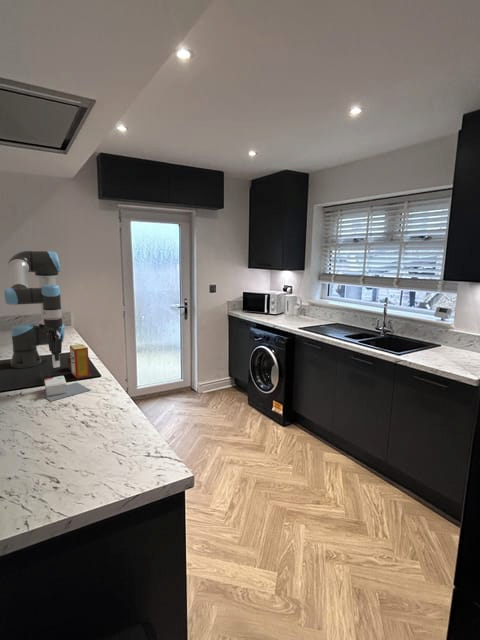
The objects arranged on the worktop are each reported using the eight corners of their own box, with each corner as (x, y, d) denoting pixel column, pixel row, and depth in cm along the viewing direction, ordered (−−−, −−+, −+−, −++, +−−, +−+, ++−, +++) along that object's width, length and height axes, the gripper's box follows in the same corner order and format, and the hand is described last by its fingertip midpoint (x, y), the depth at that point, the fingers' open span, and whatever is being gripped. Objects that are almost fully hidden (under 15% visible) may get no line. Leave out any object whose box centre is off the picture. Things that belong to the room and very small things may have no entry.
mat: (38, 393, 164) (38, 392, 163) (76, 383, 177) (76, 382, 177) (51, 401, 155) (50, 400, 155) (90, 390, 168) (90, 389, 168)
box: (77, 371, 195) (76, 358, 194) (68, 370, 196) (67, 357, 195) (84, 367, 201) (83, 355, 200) (75, 366, 202) (74, 354, 201)
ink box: (45, 388, 169) (46, 397, 159) (43, 378, 168) (45, 386, 158) (64, 384, 173) (67, 393, 163) (64, 375, 172) (66, 383, 162)
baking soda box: (89, 376, 188) (87, 346, 185) (76, 378, 184) (74, 348, 181) (84, 371, 195) (82, 343, 192) (71, 373, 191) (69, 344, 188)
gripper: (38, 317, 165) (42, 365, 170) (50, 321, 157) (54, 371, 161) (55, 315, 171) (58, 362, 175) (67, 319, 163) (70, 368, 167)
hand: (56, 366), depth 168 cm, fingers closed
